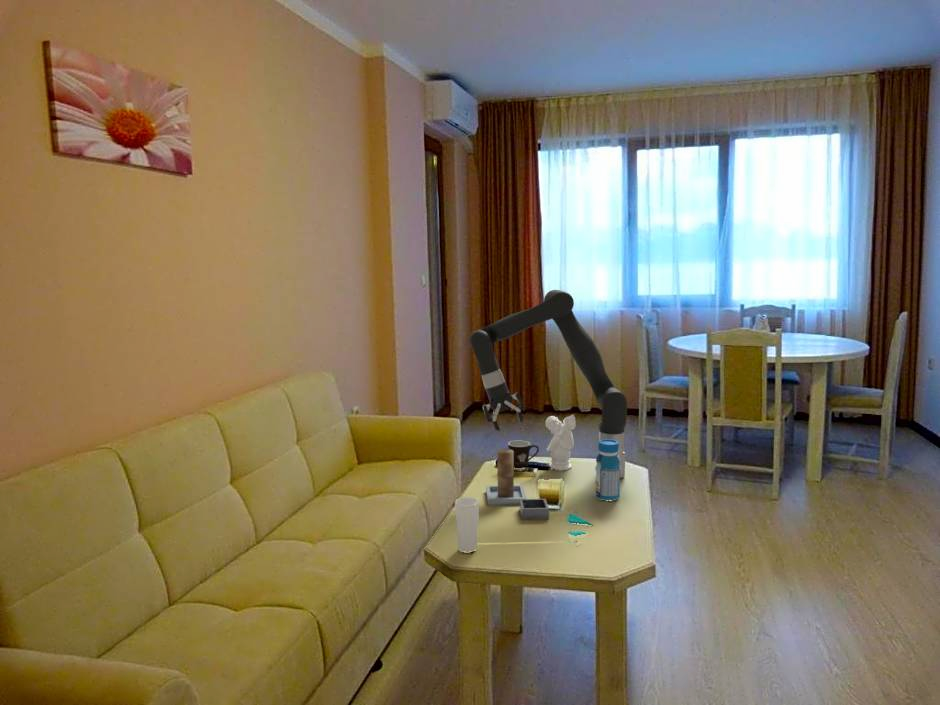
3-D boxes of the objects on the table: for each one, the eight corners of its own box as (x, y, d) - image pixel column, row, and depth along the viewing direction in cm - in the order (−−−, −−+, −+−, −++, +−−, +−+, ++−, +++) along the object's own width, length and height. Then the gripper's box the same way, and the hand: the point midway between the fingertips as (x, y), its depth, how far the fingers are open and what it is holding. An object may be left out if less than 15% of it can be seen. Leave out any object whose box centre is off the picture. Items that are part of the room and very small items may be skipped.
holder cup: (545, 510, 230) (545, 498, 230) (549, 520, 222) (549, 508, 221) (519, 510, 230) (519, 499, 230) (522, 521, 222) (522, 509, 221)
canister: (513, 492, 243) (512, 448, 241) (514, 498, 238) (514, 453, 235) (497, 493, 243) (496, 449, 240) (498, 499, 238) (497, 454, 235)
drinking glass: (459, 557, 198) (458, 506, 195) (453, 547, 204) (452, 498, 202) (482, 553, 200) (481, 503, 197) (475, 543, 206) (474, 495, 204)
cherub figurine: (542, 468, 272) (541, 413, 269) (557, 459, 282) (557, 406, 279) (570, 473, 265) (570, 417, 262) (585, 464, 275) (585, 410, 272)
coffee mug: (506, 471, 268) (506, 446, 267) (509, 464, 277) (509, 439, 275) (537, 472, 266) (537, 447, 265) (538, 465, 275) (539, 441, 273)
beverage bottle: (609, 504, 235) (610, 447, 231) (589, 497, 241) (590, 441, 238) (625, 498, 240) (626, 442, 236) (605, 491, 246) (606, 436, 243)
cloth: (594, 552, 201) (595, 544, 201) (548, 545, 206) (548, 538, 205) (608, 517, 225) (608, 510, 225) (566, 512, 230) (566, 505, 230)
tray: (522, 491, 247) (522, 484, 247) (526, 505, 234) (526, 498, 234) (486, 492, 247) (486, 485, 247) (487, 506, 234) (487, 499, 234)
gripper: (477, 391, 243) (493, 435, 244) (515, 377, 245) (530, 420, 246) (474, 390, 251) (489, 432, 252) (511, 376, 252) (526, 418, 253)
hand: (510, 426), depth 249 cm, fingers open, 8 cm apart
